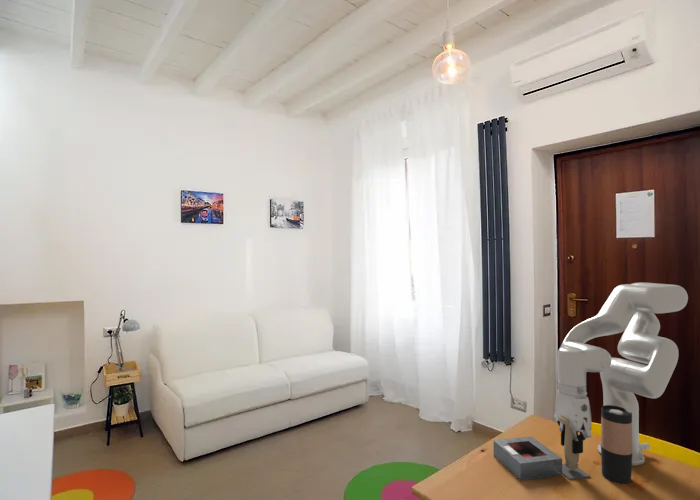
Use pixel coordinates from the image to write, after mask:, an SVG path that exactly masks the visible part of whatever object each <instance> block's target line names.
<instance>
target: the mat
mask: <svg viewBox="0 0 700 500" xmlns="http://www.w3.org/2000/svg"><path fill="white" fill-rule="evenodd" d="M562 476H564V477H565V478H567V479H568V480H571V481H575V480H580V479H588V478H591V475H590V474H588V473H587V472H586V471H585V470H583V469H581V468H580V467H579V466H578V468H577V469H575V470H573V469H569V468H568V467H567V466H566V464H565V463H562Z"/></svg>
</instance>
